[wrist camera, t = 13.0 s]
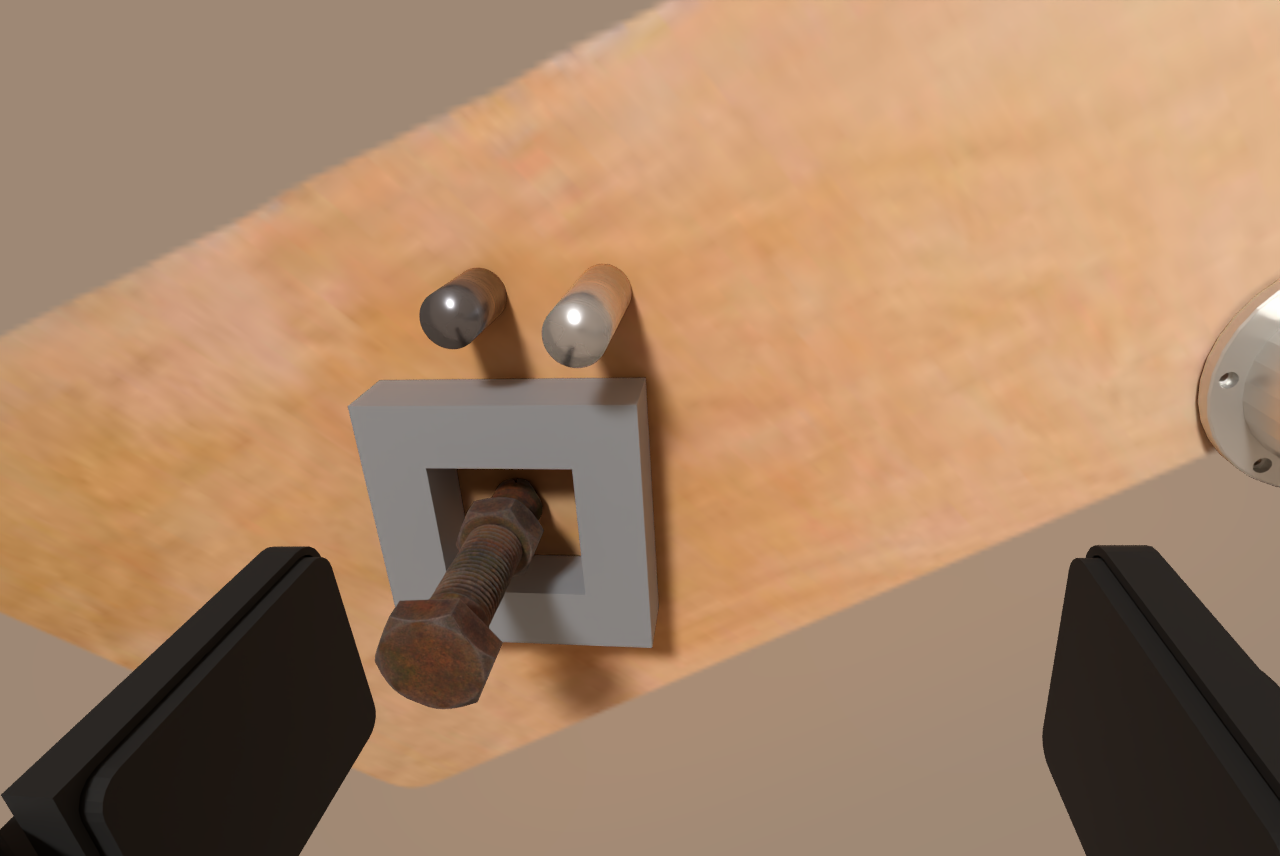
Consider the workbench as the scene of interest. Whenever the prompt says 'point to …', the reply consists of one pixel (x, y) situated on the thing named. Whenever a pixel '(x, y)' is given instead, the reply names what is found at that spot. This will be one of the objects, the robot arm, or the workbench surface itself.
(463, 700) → the bolt
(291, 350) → the workbench surface
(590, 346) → the pin mid
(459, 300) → the pin short
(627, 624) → the frame
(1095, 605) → the robot arm
